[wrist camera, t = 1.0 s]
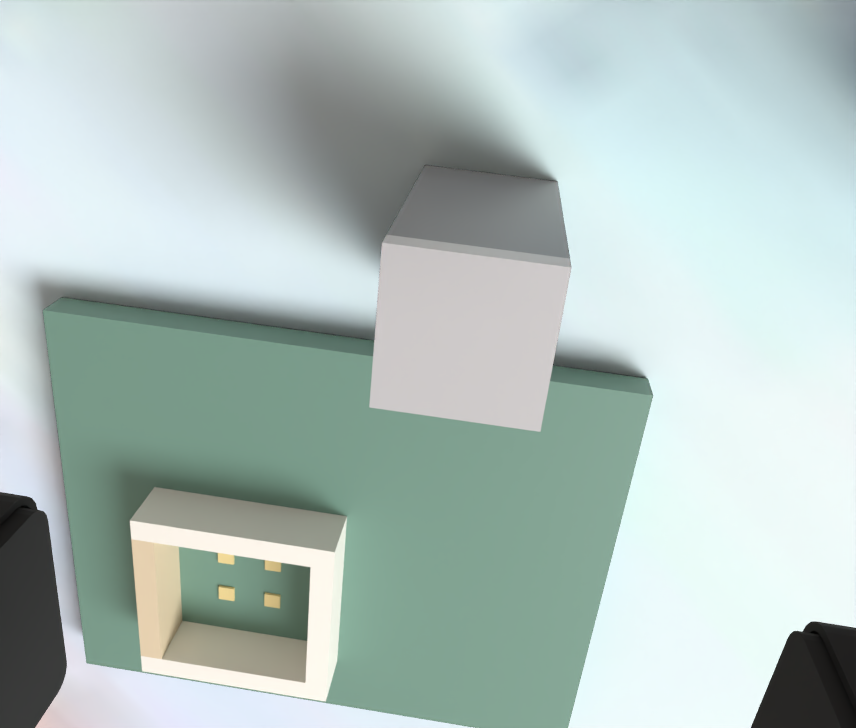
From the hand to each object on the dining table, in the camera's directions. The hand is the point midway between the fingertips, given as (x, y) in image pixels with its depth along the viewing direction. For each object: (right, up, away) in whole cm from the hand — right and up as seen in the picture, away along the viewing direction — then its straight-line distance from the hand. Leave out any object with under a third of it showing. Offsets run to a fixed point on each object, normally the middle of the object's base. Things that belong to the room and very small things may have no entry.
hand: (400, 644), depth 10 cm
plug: (+2, +7, +15) cm, 17 cm away
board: (-3, -3, +20) cm, 21 cm away
